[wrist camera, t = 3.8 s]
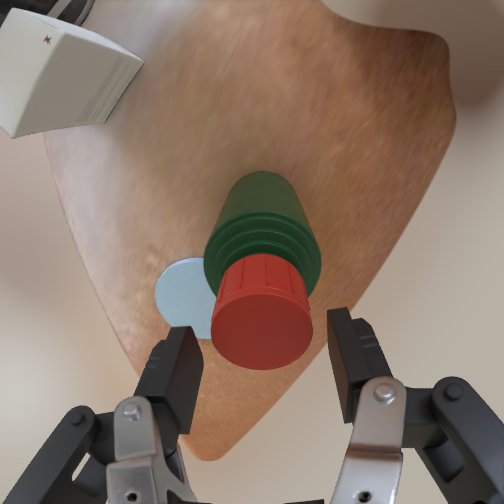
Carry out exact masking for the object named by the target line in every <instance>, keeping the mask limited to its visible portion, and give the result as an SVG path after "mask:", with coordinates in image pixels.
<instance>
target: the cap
mask: <svg viewBox="0 0 504 504" xmlns="http://www.w3.org/2000/svg"><path fill="white" fill-rule="evenodd" d="M309 310H310V307H309V302H308V298H307V293H306V289H305V285H304V280H303V277H302V278H301V276H300V274H299V272H298V271H297V269H296V268H295V267H294V266H293V265H292V264H291V263H290V262H288V261H286V260H284V259H282V258H280V257H278V256H274V255H269V254H255V255H250V256H247V257H244V258H242V259H240V260H238V261H236V262H235V263H234V264H232V265H231V266H230V267H229V268H228V270H226V271H225V274H224V276H223V278H222V281H221V285H220V289H219V290H218V294H217V298H216V302H215V306H214V310H213V314H212V318H211V322H212V323H211V329H210V332H211V338H212V342H213V344H214V346H215V348H216V349H217V351H218V352H219V353H220V354H221V355H222V356H223V357H224V358H225V359H227V360H228V361H230V362H232V363H233V364H236V365H238V366H241V367H244V368H248V369H253V370H270V369H276V368H280V367H283V366H286V365H288V364H290V363H292V362H294V361H295V360H297V359H298V358H299V357H300V356H301V355H302V354H303V353H304V352H305V351H306V350H307V348H308V346H309V345H310V342H311V340H312V335H313V327H312V321H311V316H310V312H309Z"/></svg>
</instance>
